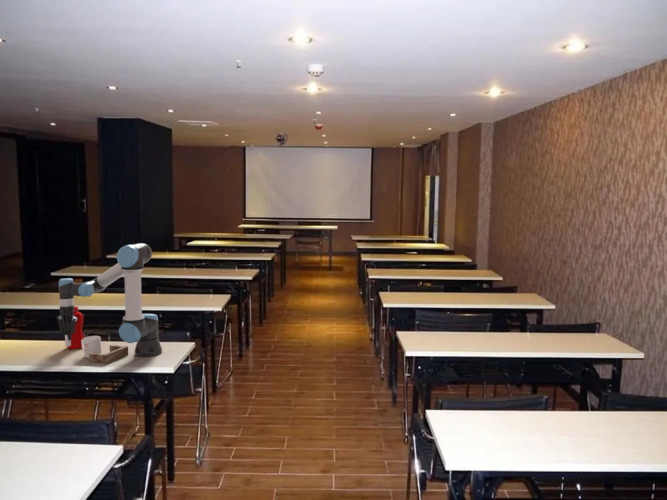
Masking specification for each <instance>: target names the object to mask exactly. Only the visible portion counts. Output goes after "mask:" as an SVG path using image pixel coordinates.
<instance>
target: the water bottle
mask: <svg viewBox="0 0 667 500" xmlns="http://www.w3.org/2000/svg"><path fill="white" fill-rule="evenodd" d="M73 314H74V317H75V318H78V320H77V322H76V327H75V333H74V334H72V335H71V336H72V337H71V338H72V340H71V345H70V346H66V347H67V349H69V350H73V351H74V350H77V349H82V343H81V340H82V339H84V338H85V336H84V333H83V327H84V326H83V325H84V316H83V313H82V312H80V311H79V307H78V306H75V305H74V312H73Z"/></svg>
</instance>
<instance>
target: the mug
mask: <svg viewBox="0 0 667 500" xmlns="http://www.w3.org/2000/svg"><path fill="white" fill-rule="evenodd" d="M81 343H82V348H81V349H82V351H83V352H84V353H83V354H84V357H85V358H86V359H87V358H88V359H89V353H100V354H102V339H101V336H99V335H90V336H86V337H85V336H84V339H82V340H81ZM88 359H87V360H88Z"/></svg>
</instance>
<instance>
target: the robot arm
mask: <svg viewBox="0 0 667 500" xmlns="http://www.w3.org/2000/svg"><path fill="white" fill-rule="evenodd" d="M152 255H153V250H152V248H151V247H150V246H149V245H148V244H146V243H142V242H138V243H133V244H126V245H124V246H122V247H120V248H119V249H118V252H117V254H116V260H117V263H115V264H114V265H113V266H111V267H110V268H108V269H107V270H106V271H104V272H102V274H100V275H98V276H97V277H95V278H94V279H92V280H89V281H85V282H84V281H83V282H74V279H73V278H71V277H70V278H69V277H67V278H60V279H59V280H58V293H59V294H58V295H59V297H58V298H59V301H58V302H59V313H60V315H59V316H57V317H56V320H57V322H58V325H59V326H58V327H59V329H60V333H61V334H62V335H64V336H63V338H64V339H63V340H64V341H65V342H64V343H65V345H64V346H65V347H67V346H70V345H71V340H72V338H71V337H72V336H71V335H72V334H74V333H75V327H76V322H77V320H78V318H75V317H74V314H73V312H74V307H75V300H74V299H75V297H82V298H83V297H84V298H87V297H92V295H93V294H96V293H100V292H103V291H104V290H105V289H106V288H107V287H108V286H110V285H111V284H112V283H114V282H115V281H117V280H118V279H121V277H123V276H124V305H125V308H124V309H125V313H124V314H125V315H124V316H123V317H122V324H121V325H120V326H119V328H118V334H119V337H120V338H121V340H122V341H123V342H125V343H127V344H134V343H136V345H135V349H134V355H135V356H137V357H146V358H147V357H153V356H154V355H155V356H157V355H161V354H162V353H163V347H162V345H161V342H160V338H159V318H158V315H157V314H154V313H143V312H142V311H143V308H142V307H143V303H142V302H143V301H142V271H143V270H144V264H146V263H148V262H149V261H150V260H151V259H152ZM160 353H161V354H160Z"/></svg>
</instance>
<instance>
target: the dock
mask: <svg viewBox="0 0 667 500" xmlns="http://www.w3.org/2000/svg"><path fill="white" fill-rule="evenodd" d="M126 356H129V346H127V345H118V344H110V345H109V351H108V352H107V353H101V354H100V353H89V363H90V364H98V365H99V364H100V365H108V364H110V363H113V362H115V361H117V360H120V359H123V358H124V357H126Z"/></svg>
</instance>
